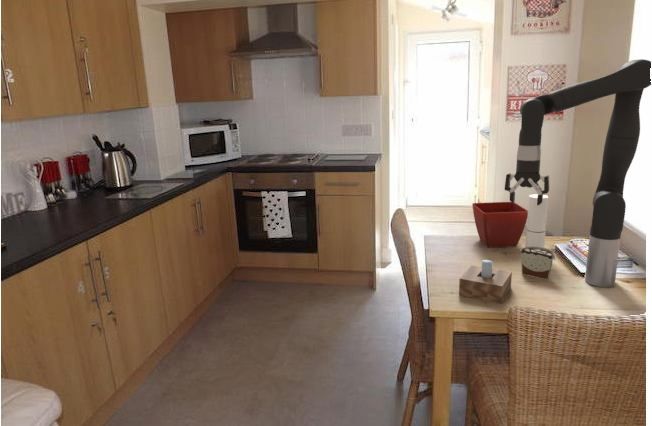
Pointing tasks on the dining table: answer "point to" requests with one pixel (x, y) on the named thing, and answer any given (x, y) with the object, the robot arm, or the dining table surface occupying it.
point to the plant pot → (499, 223)
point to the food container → (536, 262)
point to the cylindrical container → (536, 221)
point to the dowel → (486, 269)
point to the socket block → (485, 284)
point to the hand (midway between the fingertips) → (525, 203)
